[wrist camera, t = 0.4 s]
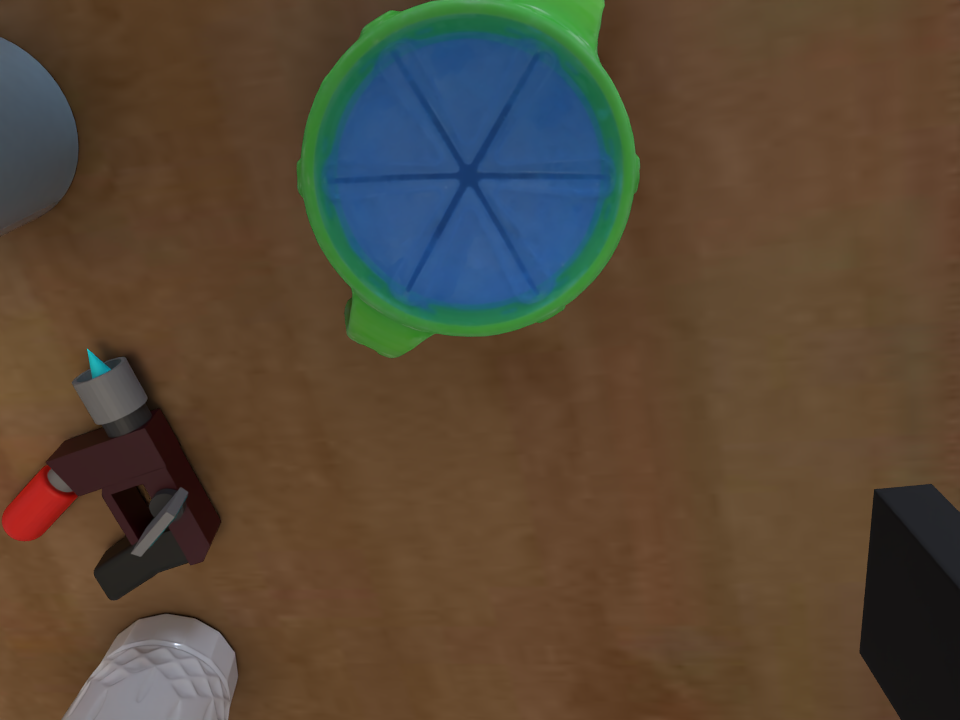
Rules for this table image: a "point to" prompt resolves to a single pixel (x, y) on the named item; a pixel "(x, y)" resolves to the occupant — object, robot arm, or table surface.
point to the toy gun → (122, 483)
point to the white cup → (161, 674)
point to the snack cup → (467, 168)
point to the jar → (32, 139)
